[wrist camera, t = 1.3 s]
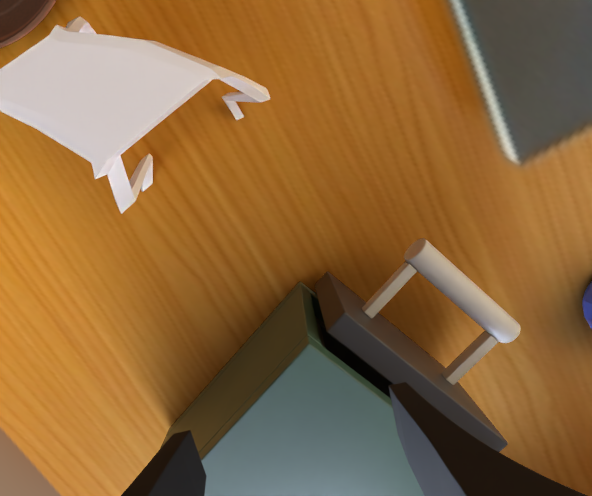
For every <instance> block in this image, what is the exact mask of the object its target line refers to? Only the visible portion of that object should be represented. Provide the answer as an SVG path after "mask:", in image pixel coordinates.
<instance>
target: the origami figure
mask: <svg viewBox="0 0 592 496" xmlns="http://www.w3.org/2000/svg"><path fill="white" fill-rule="evenodd" d="M213 79H220V80H221V81H223V82H225V83H227V84H229V85H230V86H232V87H234V88H236V89H237V90H239V91H241V92H232V93H228V94H226V95H224V96H222V98H223V100H224V101H225V103H226V105H227V106H228V108H229V109H230V111H231V112H232V114H233V115H234V117H235V119H236V120H238V119H240V118H243V117H244V115H243V114H242V112H241V110H240V108H239V107H238V105H237V103H236V102H235V101H240V102H260V103H261V102H264V101H266V100H269V99H271V98H270V95H269V93H268V90H267V88H265V87H263V86H261V85H259V84H257V83H256V82H254V81H252V80H250V79H248V78H246V77H244V76H242V75H239V74H237V73H235V72H232V71H230V70H227V69H225V68H223V67H220V66H218V65H215V64H213V63H210V62H208V61H205V60H202V59H200V58H197V57H195V56H192V55H190V54H187V53H185V52H182V51H180V50H177V49H174V48H172V47H169V46H167V45H164V44H162V43H159V42H157V41H152V40H143V39H134V38H126V37H118V36H110V35H102V34H96V33H95V31H94V30H93V29H92V27H91V26H90V25H89V23H88V22H87V21H86V20H84V19H83V18H82V17H80V16H79V17H77V18H75V19H74V20H72V21H70V22H68V24H67V26H66V28H65V27H62V26H59V25H56V26H55V27H54V29H53V30H52V32H51V33H50V34H49V36H47V37H46V38H44V39H43V40H41V41H40V42H39V43H37V44H36V45H34V46H33V47H31V48H30V49H29V50H27V51H26V52H24V53H23V54H21V55H20V56H18V57H17V58H16V59H14V60H13V61H11V62H10V63H8V64H7V65H5V66H4V67H3V68H1V69H0V111H1V112H3V113H5V114H7V115H9V116H11V117H13V118H15V119H17V120H19V121H21V122H23V123H26V124H28V125H30V126H32V127H34V128H36V129H37V130H39V131H41V132H42V133H44V134H46V135H47V136H49V137H50V138H52V139H54V140H55V141H57V142H59V143H60V144H62V145H64V146H65V147H67V148H68V149H70V150H72V151H73V152H75V153H77V154H78V155H80V156H81V157H83V158H85V159H86V160H88V161H90V162H91V163H92V167H93V172H94V177H95V179H97V178H100V177H102V176H104V175H107V176H108V179H109V182H110V185H111V188H112V191H113V195H114V198H115V201H116V204H117V206H118V208H119V210H120V212H121V214H122V213H123V212H124V211H125V210H126V209H127V208H128V207H130V206H131V205H132V204H133V203H134V202H135V201H136V199H137V196H138V194H139V191H140V189H141V190H142V192H143V191H144V190H146V189H147V188H148V187H149V186H150V185H151V184H153V157H152V156H151V155H150V153H149V154H147V155H146V156H145V157H144V158H143V159H142V160H140V162H139V164H138V166H137V168H136V170H135V171H134V173H133V175H132V177H131V179H130V181H129V180H128V177H127V174H126V171H125V168H124V165H123V162H122V159H121V156H120V155H121V154H122V153H123V152H125V151H126V150H127V149H128V148H130V147H131V146H132V145H133V144H134V143H136V142H137V141H138V140H139V139H141V138H142V137H143V136H144V135H145V134H147V133H148V132H149V131H150V130H152V129H153V128H154V127H155V126H156V125H158V124H159V123H160V122H161V121H163V120H164V119H165V118H166V117H168V116H169V115H170V114H171V113H172V112H174V111H175V110H176V109H177V108H179V107H180V106H181V105H182V104H183V103H185V102H186V101H187V100H188V99H190V98H191V97H192V96H193V95H194V94H196V93H197V92H198V91H199V90H201V89H202V88H203V87H204V86H206V85H207V84H208V83H209V82H210V81H212V80H213Z"/></svg>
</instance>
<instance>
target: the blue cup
mask: <svg viewBox="0 0 592 496" xmlns="http://www.w3.org/2000/svg"><path fill="white" fill-rule="evenodd" d="M582 306H583V312H584V317H585V319H586V321H587V322H588V324H589V326H590V328H591V329H592V281H591V282H590V283H589V285H588V286H587V288H586V290H585V293H584V296H583V302H582Z"/></svg>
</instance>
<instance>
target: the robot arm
mask: <svg viewBox="0 0 592 496" xmlns="http://www.w3.org/2000/svg"><path fill="white" fill-rule="evenodd" d="M389 391H390V396H391V402H392V407H393V412H394V417H395V423H396V428H397V433H398V436H399V439H400V442H401V444H402V447H403V450H404V452H405V455H406V458H407V460H408V463H409V465H410V467H411V469H412V471H413V473H414V475H415V477H416V479H417V481H418V483H419V485H420V487H421V490H422V492H423V494H424V496H587V495H585V494H582V493H580V492H578V491H575V490H573V489H571V488H568V487H566V486H564V485H561V484H559V483H557V482H555V481H553V480H551V479H548V478H546V477H544V476H542V475H540V474H538V473H536V472H534V471H532V470H530V469H528V468H527V467H525V466H523V465H521V464H519V463H517V462H515V461H513V460H511V459H510V458H508V457H506V456H504V455H503V454H501V453H499V452H498V451H496V450H494V449H493V448H491V447H489V446H488V445H486V444H485V443H483V442H482V441H480V440H479V439H477V438H476V437H474V436H473V435H471V434H470V433H468V432H467V431H466V430H464V429H463V428H461V427H460V426H459V425H457V424H456V423H455V422H453V421H452V420H451V419H449V418H448V417H447V416H446V415H444V414H443V413H442V412H440V411H439V410H438V409H437V408H436V407H434V406H433V405H432V404H431V403H430V402H428V401H427V400H426V399H425V398H424V397H423V396H421V395H420V394H419V393H418V392H417V391H416V390H415V389H414V388H413V387H412V386H410V385H409V384H408V383H407V382H402V383H398V384H393V385H389ZM206 477H207V476H206V473H205V470H204V467H203V464H202V462H201V459H200V456H199V453H198V450H197V448H196V445H195V442H194V439H193V436H192V433H191V431H190V430H188V431H183V432H179V433H174V434H173V435H172V436H171V437H170V438H169V439H168V441H167V442H166V443H165V444H164V445H163V447H162V448H161V449H160V450H159V451H158V453H157V454H156V455H155V456H154V457H153V459H152V460H151V461H150V462H149V463H148V465H147V466H146V467H145V468H144V469H143V471H142V472H141V473H140V474H139V475H138V477H137V478H136V479H135V480H134V481H133V483H132V484H131V485H130V486H129V487H128V488H127V489H126V491H125V492H124V493H123V494H122V495H121V496H204V494H205V485H206Z"/></svg>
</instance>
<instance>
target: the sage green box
mask: <svg viewBox="0 0 592 496" xmlns="http://www.w3.org/2000/svg"><path fill="white" fill-rule="evenodd" d="M315 316H316V317H317V318H318V319H320V320H321V321H322V322H324V320H323V316H322V312H321V309H320V305H319V301H318V297H317V294H315V293H314V292H313V291H312V290H311V289H309V288H308V287H307V286H306V285H304V284H303V283H302V282H299V283H298V284H297V285H296V286H295V287H294V288H293V289H292V290H291V292H290V293H289V294H288V295H287V296H286V297H285V298H284V299H283V301H282V302H281V303H280V304H279V305H278V306H277V307H276V309H275V310H274V311H273V312H272V313H271V314H270V315H269V316H268V318H267V319H266V320H265V321H264V322H263V323H262V324H261V326H260V327H259V328H258V329H257V330H256V331H255V332H254V333H253V335H252V336H251V337H250V338H249V339H248V340H247V341H246V342H245V344H244V345H243V346H242V347H241V348H240V349H239V350H238V352H237V353H236V354H235V355H234V356H233V357H232V358H231V359H230V361H229V362H228V363H227V364H226V365H225V366H224V367H223V368H222V370H221V371H220V372H219V373H218V374H217V375H216V376H215V378H214V379H213V380H212V381H211V382H210V383H209V384H208V385H207V387H206V388H205V389H204V390H203V391H202V392H201V393H200V395H199V396H198V397H197V398H196V399H195V400H194V401H193V402H192V404H191V405H190V406H189V407H188V408H187V409H186V410H185V411H184V413H183V414H182V415H181V416H180V417H179V418H178V419H177V421H176V422H175V423H174V424H173V425H172V426H171V427H170V428H169V431H168V433H167V435H166V437H165V439H164V442H163V444H162V446H161V448H162V447H163V445H164V444H165V443H166V442H167V441H168V439H169V438H170V437H171V436H172V435H173V434H174V433H179V432H183V431H188V430H190V431H191V433H192V436H193V439H194V442H195V445H196V448H197V450H198V453H199V456H200V459H201V462H202V464H203V467H204V470H205V473H206V476H207V477H206V485H205V494H204V496H424V494H423V492H422V490H421V487H420V485H419V483H418V481H417V479H416V477H415V475H414V473H413V471H412V469H411V467H410V465H409V463H408V460H407V458H406V455H405V452H404V450H403V447H402V444H401V442H400V439H399V436H398V433H397V428H396V423H395V417H394V412H393V407H392V402H391V398H389V397H388V396H387V395H385V394H384V393H383V392H381V391H380V390H379V389H378V388H376V387H375V386H374V385H372V384H371V383H370V382H368V381H367V380H366V379H365V378H363V377H362V376H361V375H359V374H358V373H357V372H355V371H354V370H353V369H352V368H350V367H349V366H348V365H346V364H345V363H344V362H342V361H341V360H340V359H339V358H337V357H336V356H335V355H333V354H332V353H331V352H329V351H328V350H327V349H326V348H324V347H323V346H322V345H321V341H320V336H319V332H318V327H317V322H316V318H315ZM161 448H160V449H161Z"/></svg>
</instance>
